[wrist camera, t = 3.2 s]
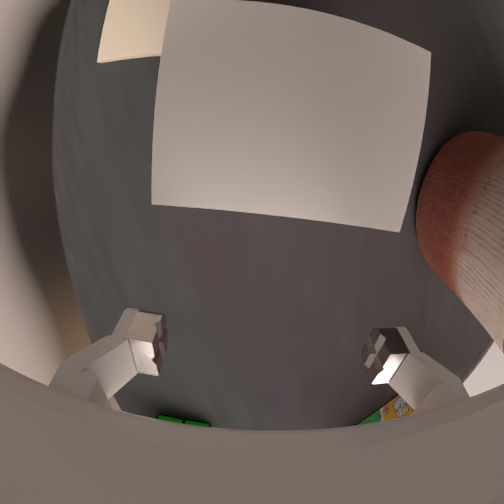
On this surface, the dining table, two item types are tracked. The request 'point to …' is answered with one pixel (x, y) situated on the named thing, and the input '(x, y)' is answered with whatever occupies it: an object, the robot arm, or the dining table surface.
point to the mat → (133, 29)
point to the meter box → (287, 114)
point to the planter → (467, 224)
